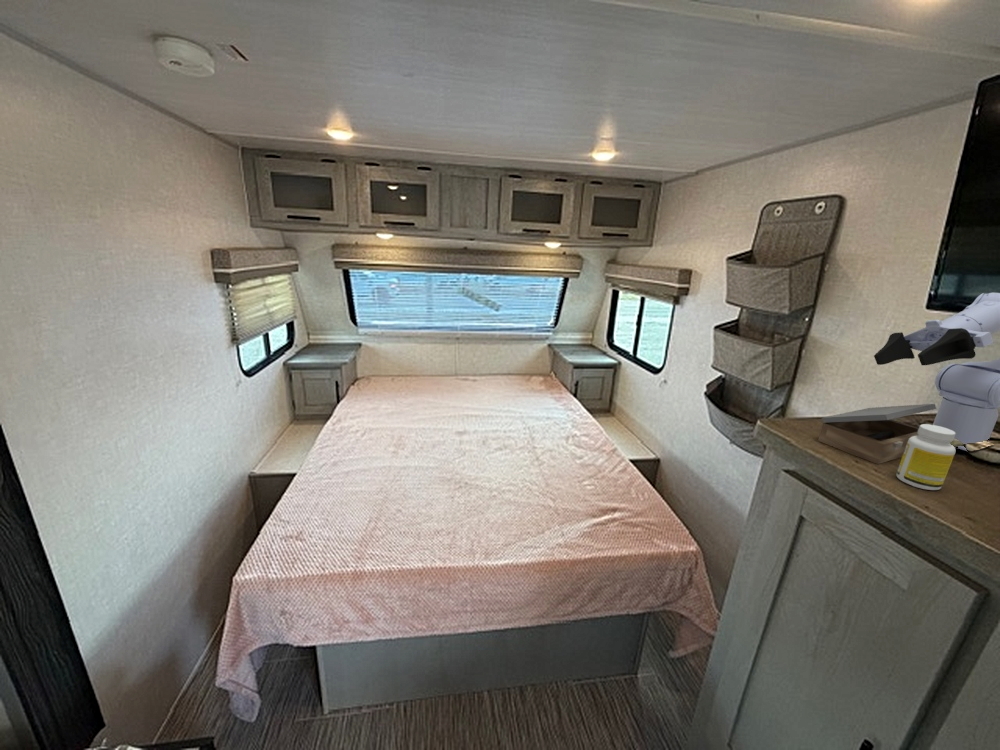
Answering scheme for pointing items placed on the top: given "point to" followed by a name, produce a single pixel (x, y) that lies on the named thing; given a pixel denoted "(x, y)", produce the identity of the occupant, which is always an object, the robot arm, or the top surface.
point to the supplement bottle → (927, 457)
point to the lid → (879, 413)
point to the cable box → (869, 438)
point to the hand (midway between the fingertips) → (898, 360)
